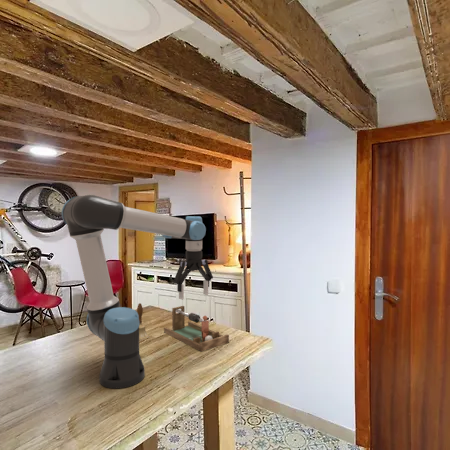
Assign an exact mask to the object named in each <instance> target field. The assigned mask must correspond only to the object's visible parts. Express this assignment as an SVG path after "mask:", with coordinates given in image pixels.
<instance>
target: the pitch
mask: <svg viewBox="0 0 450 450" xmlns="http://www.w3.org/2000/svg"><path fill="white" fill-rule="evenodd" d="M177 309H178V310H181V311H183V312H185V306H184V305H180V306H176V307H172V309H171V311H172V313H171V315H172V316H171V319H172V323H171V324H172V328H171V329H170V328H168V327H163V333H164V334H167V335H169V336H170V337H172V338H174V339H176V340H178V341H180V342H182V343H184V344H186V345H187V346H190V347H191V348H193V349H195V350H197V351H199V352H205V351H207V350H211V349H213V348H216V347H220V346H223V345H225V344H228V343H230V335H229V334H224V335H223V334H221V333H220V332H219V331H213V330H212V329H209V336H212V338H213V339H211V340H208V341H204V342H202V325H199V324H198V323H196V322H193V321H188V322H187V324H188V325H186V326H185V324H186V323H185V321H186V320H185V318H186V316H185V315H182V314H180V313H178V312H176V310H177Z"/></svg>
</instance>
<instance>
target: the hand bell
mask: <svg viewBox="0 0 450 450" xmlns="http://www.w3.org/2000/svg"><path fill="white" fill-rule="evenodd" d="M143 311H144V309H143V305H142V303H138V304H137V308H136V312H137V313H138V315H139V322H140V324H139V342H140V341H142V340H144V339H147V338H150V336H149V334H148V333H147V331H146V326H145V324H143V323H142V322H143V321H142V320H143V318H142V316H143V313H144V312H143Z"/></svg>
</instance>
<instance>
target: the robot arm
mask: <svg viewBox="0 0 450 450" xmlns="http://www.w3.org/2000/svg"><path fill="white" fill-rule="evenodd" d="M61 218H62V220H63V222H64V224H65V225H67V228H68V233H69V237H70V238H72V239H74V240H75V243H76V248H77V250H78V257H79V261H80V266H81V268H82V269H81V270H82V272H83V277H84V281H85V286H86V290H87V295H88V299H89V302H88V304H87V306H86V311H87V315H86V324H87V327H88V330H89V331H90V332H91V333H92V334H93V335H95V336H96V337H98V338H99V339H100V340H102V341H103V342H104V348H103V349H104V351H103V352H104V359H103V363H102V365H101V367H100V372H99V377H98V378H99V384H100V385H101V386H103V387H104V388H107V389H125V388H129V387H132V386H135V385H137V384H138V383H140V382H141V381H143V380H144V378H145V375H146V374H145V371H146V369H145V366H144V363H143V359H142V357H141V355H140V341H139V324H140V322H139V315H138V313H137V310H135V309H133V308H131V307H126V306H123V307H122V306H121V303H120V299H119V298H118V297H117V296H115V295H114V292H113V291H114V290H113V287H112V282H111V278H110V273H109V268H108V263H107V258H106V253H105V250H104V245H103V240H102V236H101V235H102V233H103V231H105V230H104V229H106V230H108V229H109V230H114V231H117V230H119V229H125V230H132V231H137V232H138V231H139V232H144V233H150V234H156V235H161V236H162V237H163V238H164V239H182V240H185V250H186V251H185V259H186V260H185V261H180V262H179V266H178V269H177V270H176V271H177V272H176V274H175V277H174V280H172V282H173V283H174V284H176V285H177V292H178V299H180V300H183V301H184V299H185V298H184V297H185V296H184V293H185V292H184V291H185V290H184V288H185V286H184V284H183V283H184V282H185V280H186V278H187V277H188V275H189V274H190V273H191V272H195V271H198V272H199V273H200V275H201V276H202V277H203V279H204V280H203V295H205V296H208V295H209V288H210V282H211V281H212V279H214V276H213V274H212V271H211V269H210V267H209V264H208V263H209V262H208V260H207V259H203V251H202V250H203V238H204V237H205V236H206V231H207V227H206V226H205V224H204V223H203V218H202V217H201V216H195V215H194V216H189V215H187V216H185V219H184V218H181V217H176V216H171V215H166V214H162V213H157V212H152V211H149V210H148V211H147V210H144V209H138V208H133V207H128V206H125V205H124V204H123V202H119V201H115V200H112V199H108V198H105V197H102V196H98V195H95V194H87V195H77V196H73V197H72V198H70V199H68V200H67V201H66V202H65V203H64V205H63V206H62V209H61Z"/></svg>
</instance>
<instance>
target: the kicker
mask: <svg viewBox="0 0 450 450" xmlns="http://www.w3.org/2000/svg"><path fill="white" fill-rule="evenodd" d="M176 313H180V314H182V315H185V317H188V320H189V321H190V322H193V323H195V324H198V323H201V326H202V342H204V341H205V337H206V336H209V330H210V329H209V324H210V323H209V322H210V321H209V320H208V316H207V315H204V316H203V317H202V318H201V316H200V315H199V314H196V313H194V312H190V313H188V312H185V311H184V312H183V311H181V309H177V310H176Z"/></svg>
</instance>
